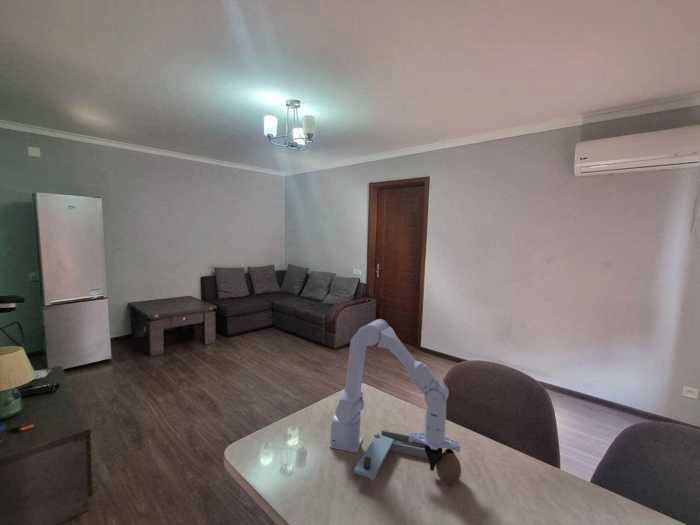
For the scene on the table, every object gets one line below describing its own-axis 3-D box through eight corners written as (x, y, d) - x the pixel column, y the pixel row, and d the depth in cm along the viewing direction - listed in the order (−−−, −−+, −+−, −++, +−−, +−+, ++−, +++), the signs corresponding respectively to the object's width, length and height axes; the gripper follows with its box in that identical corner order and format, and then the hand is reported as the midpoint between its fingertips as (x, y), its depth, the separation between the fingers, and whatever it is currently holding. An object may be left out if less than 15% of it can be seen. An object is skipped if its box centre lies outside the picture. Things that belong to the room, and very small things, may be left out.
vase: (461, 491, 88) (463, 461, 87) (435, 485, 89) (437, 456, 89) (458, 473, 94) (460, 445, 94) (435, 468, 96) (436, 441, 95)
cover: (375, 436, 106) (375, 426, 106) (393, 442, 103) (394, 431, 103) (352, 471, 89) (352, 459, 89) (373, 479, 87) (374, 467, 86)
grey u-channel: (373, 447, 104) (374, 437, 104) (377, 436, 111) (377, 426, 110) (436, 461, 99) (437, 450, 99) (436, 448, 105) (437, 437, 105)
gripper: (408, 427, 90) (406, 472, 91) (462, 437, 86) (458, 484, 87) (410, 414, 97) (408, 456, 98) (460, 423, 93) (457, 467, 94)
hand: (432, 468), depth 93 cm, fingers closed
